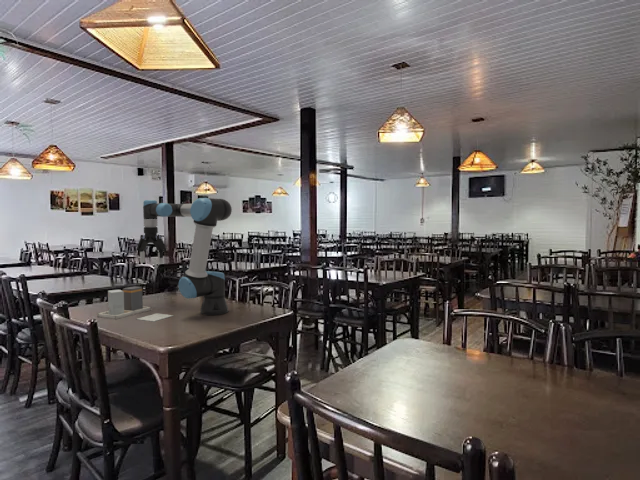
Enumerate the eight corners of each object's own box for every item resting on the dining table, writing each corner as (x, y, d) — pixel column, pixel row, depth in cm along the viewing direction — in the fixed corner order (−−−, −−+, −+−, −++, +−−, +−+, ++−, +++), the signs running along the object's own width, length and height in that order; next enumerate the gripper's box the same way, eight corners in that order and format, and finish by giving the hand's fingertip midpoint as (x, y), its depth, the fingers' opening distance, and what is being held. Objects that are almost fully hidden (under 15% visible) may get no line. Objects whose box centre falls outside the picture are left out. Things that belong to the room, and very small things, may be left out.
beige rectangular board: (151, 310, 242) (150, 307, 242) (116, 319, 220) (116, 316, 220) (132, 308, 247) (132, 305, 247) (97, 316, 225) (97, 313, 225)
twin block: (142, 309, 241) (142, 287, 241) (131, 312, 234) (131, 289, 233) (134, 308, 244) (134, 286, 243) (123, 311, 236) (122, 288, 236)
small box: (124, 315, 227) (124, 291, 227) (111, 316, 223) (111, 292, 222) (120, 312, 233) (119, 289, 233) (108, 314, 229) (107, 290, 229)
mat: (173, 315, 228) (173, 315, 228) (153, 321, 215) (153, 321, 215) (156, 313, 232) (156, 313, 232) (136, 319, 220) (136, 318, 220)
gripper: (172, 226, 243) (172, 263, 244) (139, 226, 253) (140, 261, 254) (162, 227, 236) (163, 264, 237) (129, 226, 246) (130, 262, 247)
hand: (151, 263), depth 245 cm, fingers open, 13 cm apart
